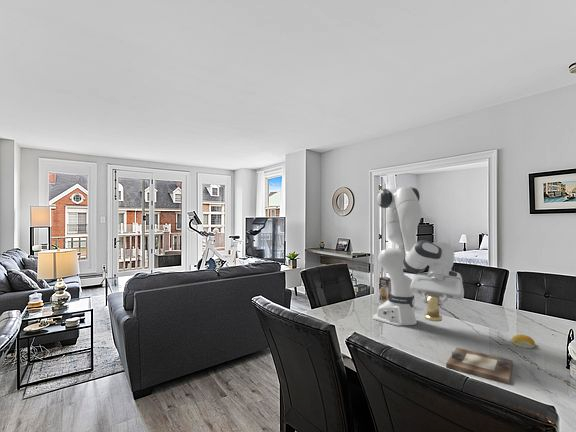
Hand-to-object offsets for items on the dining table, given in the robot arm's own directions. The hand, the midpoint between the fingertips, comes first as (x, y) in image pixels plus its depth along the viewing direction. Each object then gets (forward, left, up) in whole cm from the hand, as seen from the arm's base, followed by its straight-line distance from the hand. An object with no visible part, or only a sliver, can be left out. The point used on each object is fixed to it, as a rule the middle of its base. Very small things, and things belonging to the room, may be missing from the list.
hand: (432, 303), depth 127 cm
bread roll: (+28, +35, -21) cm, 50 cm away
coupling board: (+16, +1, -20) cm, 26 cm away
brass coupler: (0, +1, -6) cm, 6 cm away
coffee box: (-44, +64, -21) cm, 80 cm away
